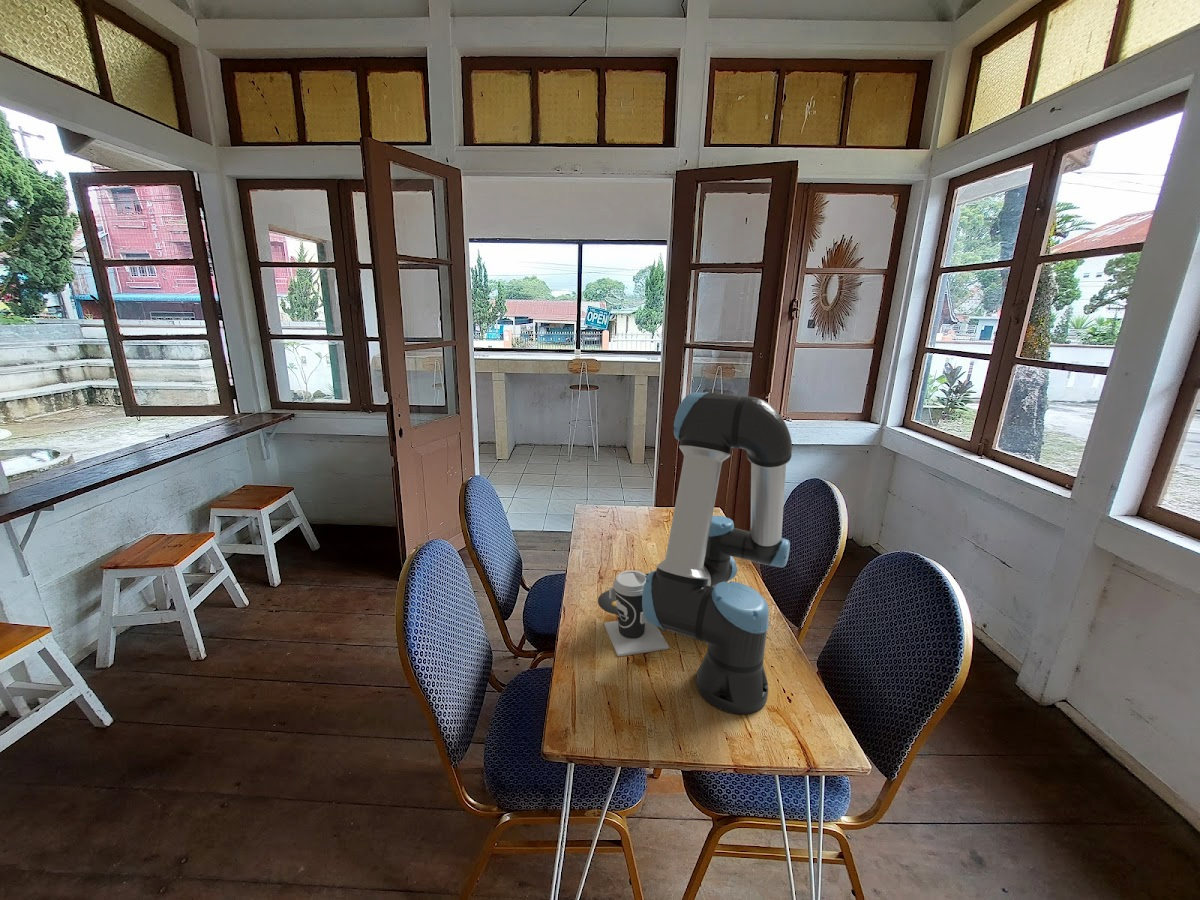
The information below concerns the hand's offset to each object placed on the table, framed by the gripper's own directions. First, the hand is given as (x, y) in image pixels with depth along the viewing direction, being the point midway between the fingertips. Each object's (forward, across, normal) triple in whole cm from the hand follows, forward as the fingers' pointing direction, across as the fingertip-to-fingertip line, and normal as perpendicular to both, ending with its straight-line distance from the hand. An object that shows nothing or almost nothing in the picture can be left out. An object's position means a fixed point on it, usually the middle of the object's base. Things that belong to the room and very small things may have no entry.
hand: (624, 605), depth 121 cm
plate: (-4, 0, -10) cm, 11 cm away
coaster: (-10, +15, -10) cm, 20 cm away
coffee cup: (-4, +2, -10) cm, 10 cm away
